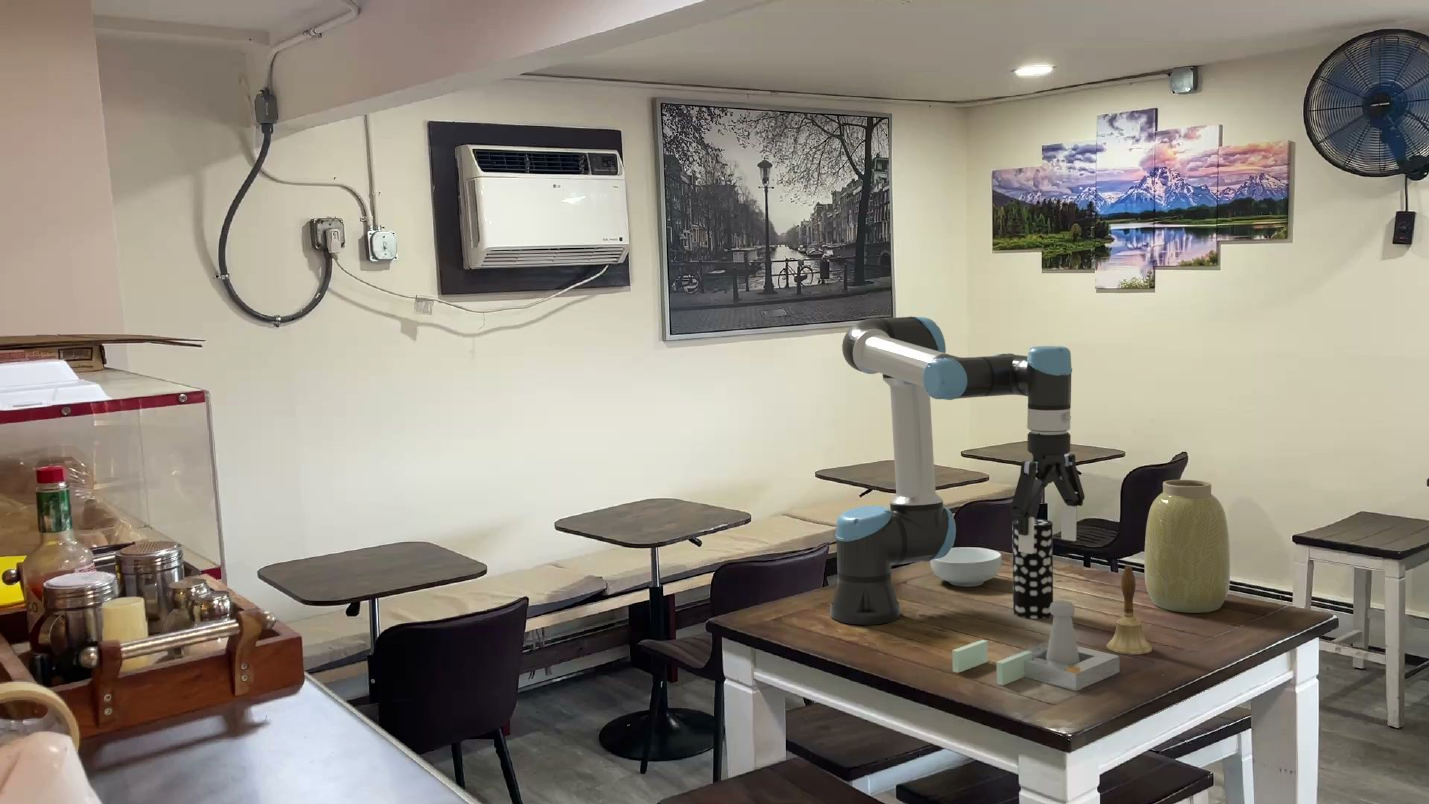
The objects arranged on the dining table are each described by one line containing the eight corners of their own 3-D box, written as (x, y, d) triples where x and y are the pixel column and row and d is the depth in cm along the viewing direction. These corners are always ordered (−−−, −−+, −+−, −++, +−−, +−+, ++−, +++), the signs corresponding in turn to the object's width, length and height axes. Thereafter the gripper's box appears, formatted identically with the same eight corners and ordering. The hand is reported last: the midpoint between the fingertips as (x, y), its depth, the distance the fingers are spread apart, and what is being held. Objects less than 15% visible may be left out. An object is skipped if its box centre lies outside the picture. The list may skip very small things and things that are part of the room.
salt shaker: (1081, 677, 200) (1080, 606, 199) (1048, 676, 201) (1047, 606, 200) (1077, 667, 206) (1076, 598, 205) (1044, 666, 207) (1044, 597, 206)
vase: (1240, 616, 235) (1241, 489, 232) (1154, 615, 237) (1154, 489, 235) (1217, 595, 251) (1217, 476, 249) (1136, 594, 254) (1136, 477, 252)
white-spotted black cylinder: (1013, 618, 239) (1012, 525, 237) (1012, 607, 247) (1011, 518, 245) (1054, 619, 237) (1053, 526, 235) (1052, 609, 245) (1051, 518, 243)
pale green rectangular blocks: (952, 671, 206) (952, 650, 205) (982, 660, 212) (982, 639, 211) (1002, 685, 197) (1002, 663, 197) (1032, 673, 203) (1031, 652, 203)
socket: (1007, 672, 204) (1007, 653, 204) (1051, 655, 213) (1051, 637, 213) (1076, 691, 194) (1076, 671, 193) (1119, 672, 202) (1119, 653, 202)
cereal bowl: (960, 571, 282) (959, 543, 281) (1015, 582, 269) (1015, 553, 268) (915, 583, 271) (915, 554, 271) (971, 595, 258) (971, 565, 258)
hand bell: (1098, 649, 216) (1098, 568, 215) (1118, 639, 222) (1118, 560, 220) (1140, 658, 210) (1140, 574, 209) (1159, 647, 216) (1159, 566, 215)
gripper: (1026, 440, 193) (1025, 561, 195) (1104, 426, 208) (1103, 538, 211) (990, 436, 198) (989, 554, 201) (1069, 423, 214) (1068, 531, 216)
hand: (1047, 546), depth 206 cm, fingers open, 13 cm apart
